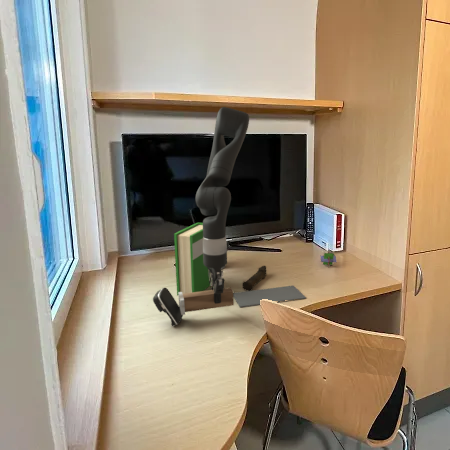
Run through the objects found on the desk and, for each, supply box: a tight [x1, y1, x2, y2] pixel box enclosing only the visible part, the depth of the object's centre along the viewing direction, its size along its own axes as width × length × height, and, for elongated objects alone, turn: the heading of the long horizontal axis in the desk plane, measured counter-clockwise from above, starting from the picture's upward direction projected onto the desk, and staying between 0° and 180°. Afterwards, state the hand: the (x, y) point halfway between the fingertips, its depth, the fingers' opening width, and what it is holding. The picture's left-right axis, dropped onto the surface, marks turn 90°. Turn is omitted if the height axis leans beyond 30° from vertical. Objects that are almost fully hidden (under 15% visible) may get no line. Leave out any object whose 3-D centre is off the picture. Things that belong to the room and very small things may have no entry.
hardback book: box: [173, 222, 211, 296], centre depth 140 cm, size 18×7×24 cm, turn 155°
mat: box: [233, 285, 307, 308], centre depth 134 cm, size 11×25×1 cm, turn 104°
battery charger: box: [152, 287, 184, 327], centre depth 116 cm, size 7×4×11 cm, turn 173°
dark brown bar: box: [242, 265, 267, 291], centre depth 147 cm, size 19×4×5 cm, turn 149°
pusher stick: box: [177, 287, 235, 316], centre depth 117 cm, size 6×17×5 cm, turn 103°
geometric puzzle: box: [320, 250, 337, 268], centre depth 163 cm, size 7×7×8 cm
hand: (216, 300), depth 118 cm, fingers closed on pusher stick, 3 cm apart
